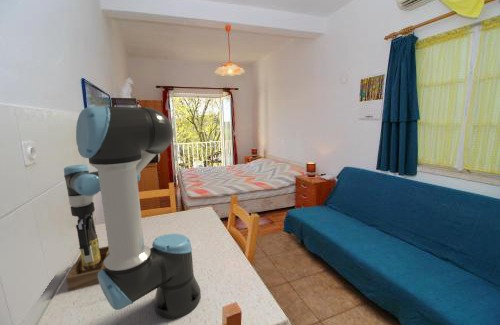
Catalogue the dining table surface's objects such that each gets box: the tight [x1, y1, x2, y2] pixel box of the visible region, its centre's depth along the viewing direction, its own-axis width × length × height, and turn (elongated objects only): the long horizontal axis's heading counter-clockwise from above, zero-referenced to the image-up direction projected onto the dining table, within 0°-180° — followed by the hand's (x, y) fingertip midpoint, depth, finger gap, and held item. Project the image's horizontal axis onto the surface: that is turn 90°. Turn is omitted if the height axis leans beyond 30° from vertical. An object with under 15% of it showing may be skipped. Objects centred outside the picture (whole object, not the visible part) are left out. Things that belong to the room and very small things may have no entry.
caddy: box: [66, 245, 109, 292], centre depth 98 cm, size 20×22×6 cm
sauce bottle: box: [79, 219, 101, 270], centre depth 94 cm, size 6×6×20 cm
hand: (91, 257), depth 95 cm, fingers closed on sauce bottle, 6 cm apart
